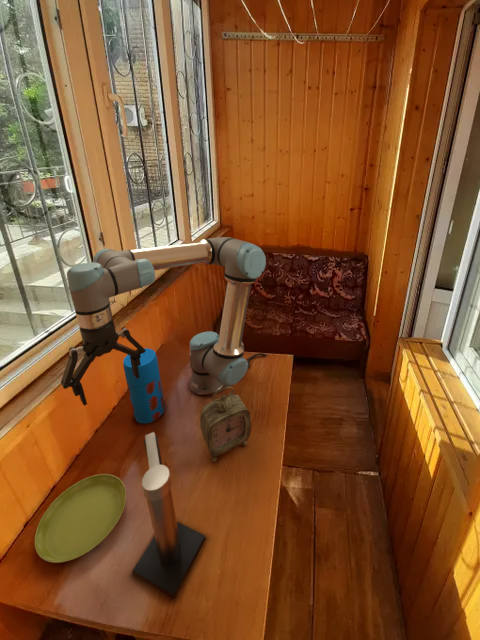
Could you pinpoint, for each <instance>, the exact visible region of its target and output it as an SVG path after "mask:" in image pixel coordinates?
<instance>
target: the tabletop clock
mask: <svg viewBox="0 0 480 640" xmlns="http://www.w3.org/2000/svg"><path fill="white" fill-rule="evenodd" d="M229 389H230V390H231V391H230V393H228V394H227V395H225V394H221V396H220V397H219V398H215V396H216V395H217V394H219V393H220V392H223V391H225V390H229ZM240 397H241V396H240V395H239V394H236V393H234V387H232V386H224V387H223V388H222V389H220V390H218V391H216V392H215V393H214V394H212V396H211V399H212V401H211V402H209V403H207V404H205V405H204V406H202V409H201V412H200V418H199V419H200V420H199V421H200V422H199V425H200V427H199V428H200V431H201V435H202V437H203V439H204V442H205V444H206V447H207V449H208V451H209V454H210V455H211V462H213V463H215V462H217V460H218V458H217V457H219V456H220V455H223V454H225V453H228V452H230V451H231V450H234V449H235V448H237V447H238V446H240V445H242V446H243V447H244V446H245V447H246V446H247V444H248V441H247V440H248V439H249V438H250V435H251V431H252V419H251V414H250V412H249V410H248V408H247V406H246V405H245V403H244V402H243V400H242V399H241V398H240Z"/></svg>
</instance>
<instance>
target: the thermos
mask: <svg viewBox="0 0 480 640" xmlns="http://www.w3.org/2000/svg"><path fill="white" fill-rule="evenodd" d="M143 348H144V349H145V350H146V351H145V353H142V354H141V355H140V356H141V358H140V363H141V364H140V366H138V371H139V377H140V378H138V379H137V378H136V377H135V376H134V375H133V371H132V366H131V361H130V355H128V354H126V355H125V356H124V358H123V363H122V364H123V365H122V367H123V371H124V376H125V381H126V385H127V386H126V387H127V391H128V395H129V400H130V405H131V409H132V413H133V416H134V419H135V421H136V422H137V423H139V424H150V423H152V422H154V421H157V420H158V419H159V418H160V417H161V416H162V415H163V414H164V412H165V399H164V393H163V392H164V391H163V385H162V380H161V374H160V367H159V361H158V356H157V353H156V351H155V350H154V349H151V348H147V347H143Z"/></svg>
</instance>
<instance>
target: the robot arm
mask: <svg viewBox="0 0 480 640" xmlns="http://www.w3.org/2000/svg"><path fill="white" fill-rule="evenodd" d="M266 263H267V259H266V255H265V252H264V251H263V249H262V248H261V247H259V246H258V245H256V244H254V243H252V242H248V241H245V240H240V239H237V238H234V237H230V236H228V237H227V236H221V237H220V236H219V237H211V238H201V239H199V240H198V242H190V243H181V244H173V245H172V244H171V245H161V246H156V247H155V246H152V247H143V248H135V249H134V248H133V249H123V250H115V249H111V248H103V249H100V250H98V251H97V252H96V253H95V254H94V256H93V258H92V262H84V263H83V262H82V263H79V264H76V265H73V266H72V267H70V268H69V269H68V270H67V271H66V278H67V279H66V280H67V284H68V285H67V286H68V287H67V288H68V291H69V293H70V297H71V300H72V304H73V308H74V312H75V317H76V320H77V324H78V327H79V332H80V336H81V340H82V341H81V342H82V344H81V346H78V347H74V346H71V347H69V348H68V355H69V356H68V359H67V362H66V365H65V368H64V371H63V374H62V377H61V379H60V380H61V381H60V383H61V386H62V388H63V389H64V390H66V389H69V388H71V390H72V393H73V395H74V396H75V397H78V396H79V399H80V402H81V403H82V405H83V406H84V407H85V406H86V405H88V402H87V398H86V395H85V391H84V386H83V384H82V382H81V380H82V379H83V377H84V375H85V374H86V372H87V370H88V369H89V367H90V366H91V364H92V363H93V362H94V360H95V359H96V358H97V357H98V358H99V357H102V356H103V355H105V354H109V353H112V351H113V350H115V351H118V352H121V353H123V354H126V355H130V361H131V366H132V371H133V375H134V376H135V377H136V378H137V379H138V378H140V377H139V371H138V366H140V364H141V363H140V358H141V356H140V355H141V354H142V353H145V351H146V350H145V349H144V348H145V347H143V345H141V344H140V343H139V342H138V341H137V340H136V339H135V338H134V337H133V336H132V335H131V332H130V330H129V329H128V328H127V327H125V326H122V327H121V328H120V330H118V331H116V326H115V321H114V318H113V313H112V309H111V302H110V298H112V297H115V296H118V295H122V294H125V293H128V292H131V291H136V290H139V289H143V288H145V287H147V286H150V285H152V284H153V283H154V282H155V280H156V271H159V270H166V269H172V268H179V267H184V266H186V267H187V266H191V265H197V264H201V265H202V266H209V265H214V266H220V267H222V268H225V269H224V274H223V275H224V279H225V280H226V282H227V284H226V289H225V290H226V292H225V295H224V296H225V297H224V304H223V309H222V317H221V323H220V329H219V333H217V332H215V331H210V330H209V331H208V330H207V331H202V332H200V333H197V334H195V335H194V336H193V337H192V338H191V339H190V341H189V354H190V353H191V358H190V362H191V361H192V366H191V369H192V371H191V375H190V378H189V389H190V391H191V392H192V393H193V394H194V395H197V396H201V397H208V396H213V395H214V393H215V392H216V391H218V390H220V389H222V388H224V387H232V386H235V385H236V384H238V383H239V382H241V380H242V379H244V377H245V375H246V373H247V371H248V369H249V368H250V365H251V362H250V361H251V360H252V359H253V358H255V357H258V356H264V357H267V356H268V355H267V354H266V353H264V352H259V353H255V354H252V355H250V357H248V359H246V358H245V357H244V356H245V355H244V354H245V346H244V347H243V345H242V344H241V343H242V342H243V335H244V330H245V323H246V318H247V313H248V305H249V300H250V293H251V288H252V285H253V284H255V283H256V282H257V279H258V278H259V277H260V276H262V273H264V271H265V268H266ZM120 337H121V338H123V339H126V340H127V341H128V342H129V343H130V344H132V345H133V346H134V348H136V349H134V348H130V347H129V346H126V345H124V344H122V343H120V342H118V340H119V338H120ZM83 352H84V354H83V358H82V359H81V361H80V363H79V364H78V360H79V357H80V356H81V354H82V353H83ZM77 364H78V365H77ZM76 366H77V367H76Z"/></svg>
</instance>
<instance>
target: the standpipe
mask: <svg viewBox="0 0 480 640" xmlns="http://www.w3.org/2000/svg"><path fill="white" fill-rule="evenodd" d="M146 502H147V506H148V511H149V516H150V520H151V526H152V530H153V535H154V537H153V538H152V540H151V541H150V543H149V544H148V546H147V547H146V549H145V551H143V553H142V555H141V557H140V558H139V559H138V561H137V563H136V565H134V568H133V569H132V575H133V576H135V577H136V578H138V579H140V580H142V581H143V582H145V583H146V584H149V585H150V586H152V587H153V588H156V589H157V590H158V591H160V592H162V593H164V594H165V595H167V596H168V597H171V598H173V599H174V600H175V599H176V597H177V595H178V593H179V591H180V590H181V588H182V586H183V584H184V582H185V580H186V579H187V575H188V574H189V572H190V570H191V569H192V566H193V565H194V563H195V560H196V559H197V556H198V555H199V553H200V551H201V549H202V547H203V545H204V543H205V541H206V535H204V534H203V533H201V532H199V531H197V530H195V529H193V528H191V527H188V526H187V525H184V524H182V523H181V522H179V521H177V515H176V511H175V505H174V498H173V493H172V488H170V490H169V492H168V493H167V494H166V495H165V496H164V497H163V498H162V499H160V500H157V501H149V500H147V499H146Z"/></svg>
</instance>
